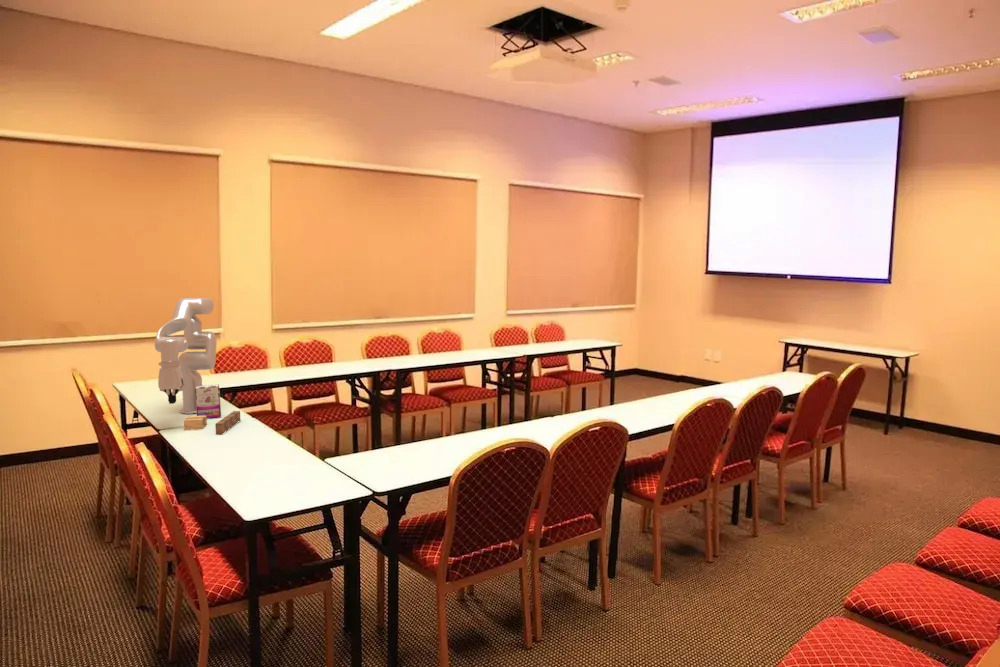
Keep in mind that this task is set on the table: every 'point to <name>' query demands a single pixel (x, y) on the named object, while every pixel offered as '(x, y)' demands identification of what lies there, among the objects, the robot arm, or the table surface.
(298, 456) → the table surface
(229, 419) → the rail
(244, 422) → the table surface
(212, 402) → the candy bar box
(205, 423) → the block
